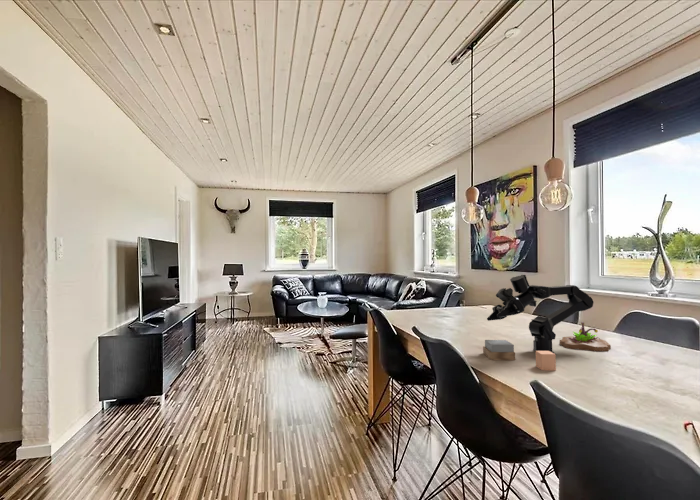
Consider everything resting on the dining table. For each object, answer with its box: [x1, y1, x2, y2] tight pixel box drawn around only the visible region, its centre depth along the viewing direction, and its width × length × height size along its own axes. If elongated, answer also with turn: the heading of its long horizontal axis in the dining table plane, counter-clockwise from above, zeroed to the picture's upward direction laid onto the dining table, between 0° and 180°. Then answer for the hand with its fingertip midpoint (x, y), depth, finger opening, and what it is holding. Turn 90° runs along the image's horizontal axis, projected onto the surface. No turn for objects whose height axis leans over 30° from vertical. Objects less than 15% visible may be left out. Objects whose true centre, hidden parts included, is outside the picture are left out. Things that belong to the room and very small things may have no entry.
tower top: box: [484, 339, 515, 352], centre depth 151 cm, size 9×9×3 cm
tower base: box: [482, 345, 516, 361], centre depth 151 cm, size 10×10×4 cm
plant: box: [559, 321, 612, 352], centre depth 168 cm, size 20×20×11 cm
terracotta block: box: [535, 351, 557, 371], centre depth 134 cm, size 5×5×6 cm
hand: (492, 317), depth 152 cm, fingers open, 9 cm apart
